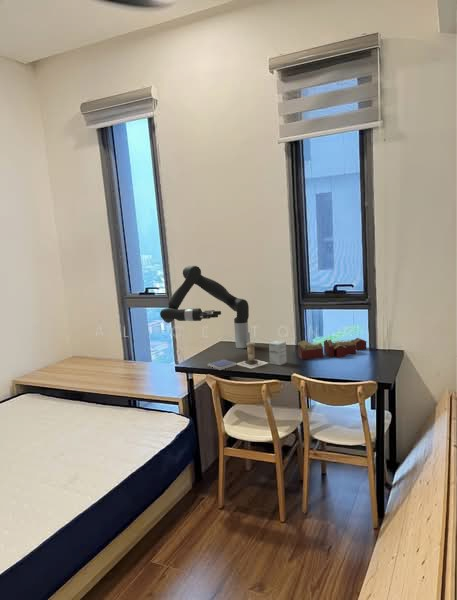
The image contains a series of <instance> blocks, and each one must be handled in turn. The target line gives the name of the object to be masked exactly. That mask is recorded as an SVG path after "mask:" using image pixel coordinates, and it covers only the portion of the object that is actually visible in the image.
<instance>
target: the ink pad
mask: <svg viewBox="0 0 457 600" xmlns="http://www.w3.org/2000/svg"><path fill="white" fill-rule="evenodd" d="M236 364H237V363H236V362H233V361H229V360H227V359H220V360H217V361H213V362H210V363H207V367H209V366H210V367H209V368H212V367H213V368H212V369H214V370H218V371H221V370H225V368H226V369H229V368H231V367H235V366H237V365H236Z"/></svg>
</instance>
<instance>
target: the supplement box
mask: <svg viewBox="0 0 457 600" xmlns="http://www.w3.org/2000/svg"><path fill="white" fill-rule="evenodd" d="M268 350H269V351H268V352H269V364H272V365H278V366H282V365H284V364H286V363H287V341H281V340H273V341H271V342H269V343H268Z"/></svg>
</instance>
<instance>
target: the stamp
mask: <svg viewBox="0 0 457 600" xmlns="http://www.w3.org/2000/svg"><path fill="white" fill-rule="evenodd" d="M246 345H247V349H246V350H247V360H244V361H245V364H249V365H253V364H257V363H258V361H257V360H258V359H256V357H255V342H252V341H250V342H249V343H246ZM255 359H256V360H255Z"/></svg>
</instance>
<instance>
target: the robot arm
mask: <svg viewBox="0 0 457 600" xmlns="http://www.w3.org/2000/svg"><path fill="white" fill-rule="evenodd" d="M182 277H183V278H184V279H185V280H184V281H183V283H182V284H181V285H180V286H179V287H178V288H177V289H176V290H175V291H174V293H173V294H172V296H171V297H170V299H169V301H168V303H167V304H168V307H167V308H163V309H161V311H160V312H159V316H160V318H161V319H162V320H163V322H164V323H167V324H170V323H172V322H173V321H174V320H176V321H178V322H201V321H202V320H205V319H207V320H208V319H212V318H218V317H219V316H220V315H222V311H221V310H214V309H211V310H204V311H202V309H201V308H198V307H197V308H186V309H183V308H182V309H179V308H180V306H181V304H182V302H183V301H184V299H185V297H186V296H187V294H188V293H189V292H190V290H191V289H192V288H193V286H194V285H196V286H198V287H199V288H200V289H202V290H203V291H205V292H206V293H208V294H209V295H210V296H212V297H214V298H215V299H216V300H218V301H220V302H222V303H224V304H225V305H227V306H228V308H230V309H231V310H232V311H234V312H236V317H235V318H234V319H233V322H234V339H235V340H234V341H235V348H236V349H246V348H247V345H246V343H249V342H251V338H250V337H251V335H250V332H249V314H250V313H249V311H250V310H249V309H250V306H249V303H248V302H249V301H247V300H246V299H244V298H238V297H236V296H234V295H233V294H231V293H230V292H229V291H228V290H227V288H226V287H224V286H223V285H222V284H221V283H219V282H217V281H216V280H214V279H212V278H210V277H209V278H208V277H206V276H204V275H202V269H201V268H200V267H199V266H197V265H187V266H186V267H184V268H183V269H182Z"/></svg>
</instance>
